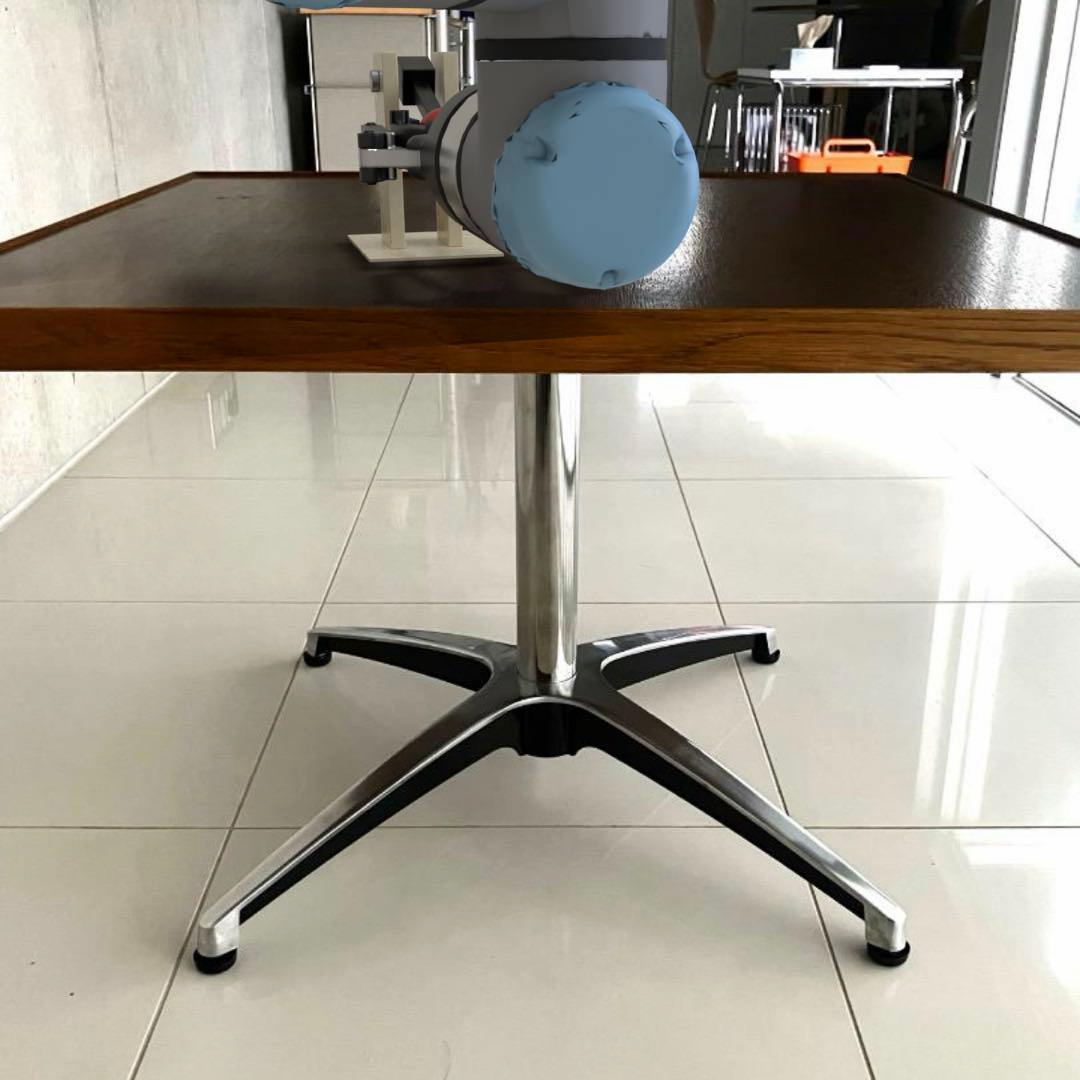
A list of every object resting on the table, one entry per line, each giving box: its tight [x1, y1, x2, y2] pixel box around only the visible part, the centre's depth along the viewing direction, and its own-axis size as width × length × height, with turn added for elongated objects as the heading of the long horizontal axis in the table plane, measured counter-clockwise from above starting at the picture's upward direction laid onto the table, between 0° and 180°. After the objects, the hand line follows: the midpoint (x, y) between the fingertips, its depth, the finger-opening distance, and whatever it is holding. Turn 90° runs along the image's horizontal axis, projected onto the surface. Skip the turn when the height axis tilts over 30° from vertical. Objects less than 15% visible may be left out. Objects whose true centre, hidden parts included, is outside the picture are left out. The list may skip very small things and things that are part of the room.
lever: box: [397, 55, 442, 125], centre depth 78 cm, size 13×3×3 cm, turn 15°
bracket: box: [347, 51, 505, 263], centre depth 84 cm, size 12×9×14 cm
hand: (427, 137), depth 80 cm, fingers closed on lever, 3 cm apart
